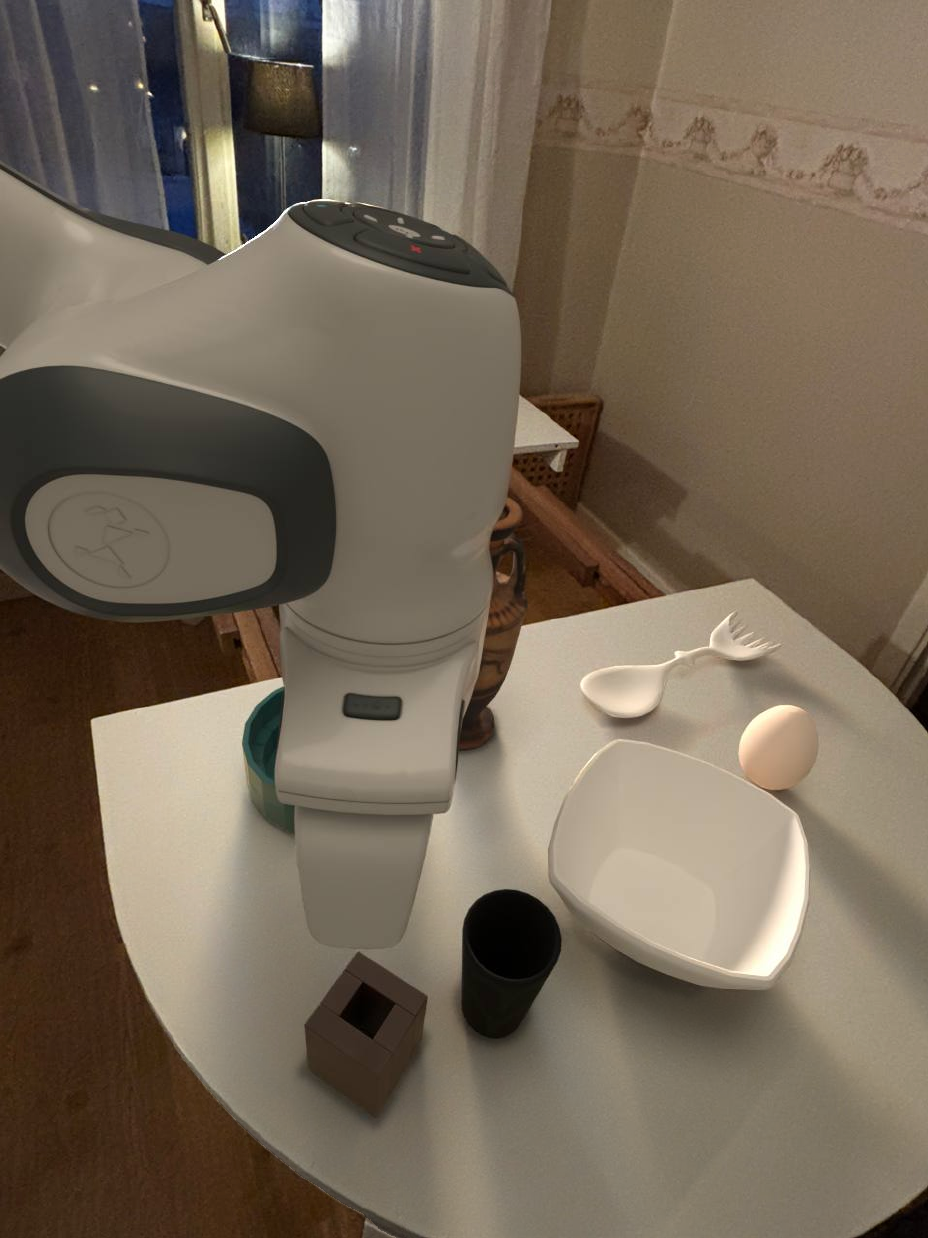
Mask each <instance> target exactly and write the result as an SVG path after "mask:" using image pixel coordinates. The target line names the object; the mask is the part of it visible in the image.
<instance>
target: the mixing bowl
mask: <svg viewBox="0 0 928 1238" xmlns="http://www.w3.org/2000/svg"><path fill="white" fill-rule="evenodd" d="M283 688H284V685H283V686H280V687H279V688H276V689H274V690H273V691H271V692H270V693H269V694H268V695H267V696H266V697H264V698H263V699H262V700H261V701H260V702H258V703H257V704H256V705H255V706H254V708H253V709H252V711H251V713H250V714H249V716H248V718H247V719H246V721H245V723H244V727H243V734H242V739H241V740H242V741H241V747H242V755H243V756H242V757H243V762H244V771H245V778H246V779H245V780H246V784H247V788H248V791H249V795H250V800H251V802H252V803H253V804H254V806H255V807H256V808H257V810H258V811H259V812H260V813H261V814H262V816H263V817H264V818H265V819H266V820H267V821H269V822H271V823H272V824H274V825H276V826H278V827H279V828H281V829H283V830H284V831H285V832H288V833H292V834H295V806H294V805H289V804H284V803H281V802H280V801H279V800H278V798H277V794H276V787H275V763H276V746H277V738H278V731H279V723H280V716H281V707H282V695H283Z"/></svg>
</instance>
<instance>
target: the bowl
mask: <svg viewBox="0 0 928 1238" xmlns="http://www.w3.org/2000/svg"><path fill="white" fill-rule="evenodd" d="M558 810H559V811H558V812H557V815H556V818H555V821H554V823H553V827H552V832H551V836H550V840H549V845H548V848H547V868H548V869H547V871H548V873H547V874H548V881H549V883H550V885H551V886H552V888H553V889H554V891H555V892H556V894H557V896H558V897H559V898H560V900H561V902H562V903H563V905H564V907H565V908H566V909H567V911H568V913H570V915H572V916H573V917H574V918H575V920H577V922H578V923H580V924H581V926H583V928H585V929H586V930H588V931H589V932H591V933H592V934H593V935H595V936H596V937H598V938H599V939H601V940H602V941H603V942H605V943H606V944H607V945H609V946H610V947H612V948H613V949H615V950H616V951H618V952H620V953H622V954H623V955H625V956H627V957H628V958H630V959H631V960H634V961H635V962H637V963H639V964H641V965H644V966H646V967H648V968H649V969H652V970H655V971H657V972H660V973H661V974H664V975H667V976H670V977H673V978H676V979H678V980H682V981H685V982H688V983H691V984H694V985H698V986H700V987H707V988H716V989H723V990H724V989H728V990H751V991H768V990H769V989H771V988H772V987H773V986H774V985H776V983H777V981H779V979H780V978H781V977H782V976H783V974H784V973H785V972H786V971H787V970H788V969H789V968H790V965H791V963H792V960H793V958H794V956H795V953H796V951H797V948H798V946H799V944H800V941H801V939H802V934H803V931H804V926H805V923H806V918H807V914H808V910H809V906H810V893H811V891H810V890H811V862H810V852H809V851H810V850H809V844H808V840H807V837H806V833H805V831H804V827H803V825H802V822H801V819H800V817H799V814H798V813H797V812H795V811H794V810H793V809H792V808H790V807H789V806H788V805H786V804H785V803H784V802H782V801H781V800H779V798H777V797H775V796H774V795H773V794H771V793H769V792H768V791H766V790H764V789H763V788H761V787H759V786H758V785H756V784H754V783H751V782H749V781H747V780H745V779H744V778H742V777H740V776H738V775H736V774H734V773H732V772H730V771H728V770H725V769H723V768H721V767H719V766H717V765H715V764H712V763H711V762H708V761H706V760H702V759H700V758H697V757H695V756H692V755H689V754H686V753H684V752H681V751H678V750H674V749H671V748H668V747H664V746H661V745H657V744H653V743H650V742H646V741H639V740H631V739H625V738H616V739H614V740H612V741H611V742H609V743H608V744H606V745H605V746H603V747H602V748H600V749H599V750H598V751H597V752H595V753H594V754H593V756H591V758H590V759H589V760H588V762H587V763H586V764H585V765H584V766H583V767H582V768H581V770H580V771H579V773H578V775H577V776H576V778H575V779H574V781H573V782H572V784H571V786H570V787H569V788H568V791H567V792H566V794H565V795H564V796H563V800H562V803H561V805H560V807H559V809H558Z"/></svg>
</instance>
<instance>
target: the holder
mask: <svg viewBox="0 0 928 1238" xmlns="http://www.w3.org/2000/svg"><path fill="white" fill-rule="evenodd" d="M428 1000H429V996H428V995H427V994H426V993H424V992H422V990H420V989H418V988H416V987H415V986H413V985H412V984H410V983H409V982H407V981H405V979H402V978H401V977H399V976H398V975H397V974H394V973H393V972H392V971H390V970H389V969H387V968H385V967H384V966H382V965H381V964H380V963H378V962H376V961H375V960H373V959H372V958H370V957H368V956H367V955H365V954H364V953H362V952H360V950H358V951H356V953H355V954H354V955H353V956H352V958H351V960H350V961H349V963H348V964H347V965H346V967H345V968H344V970H342V972H341V973H340V975H339V976H338V977H337V979H336V980H335V982H334V983H333V984H332V986H331V987H330V988H329V989H328V991H327V992H326V994H325V995H324V997H323V998H322V1000H321V1001H320V1002H319V1003H318V1005H317V1006H316V1008H315V1009H314V1011H313V1012H312V1013H311V1015H310V1016H309V1017H308V1018H307V1020H306V1021H305V1023H304V1040H305V1051H306V1064H307V1066H306V1067H307V1070H308V1071H310V1072H312V1073H313V1074H315V1076H317V1077H318V1078H320V1079H321V1080H323V1081H324V1082H325V1083H327V1084H328V1085H329V1086H330V1087H332V1088H334V1089H335V1090H336V1091H337V1092H339V1093H340V1094H342V1095H343V1096H344V1097H345V1098H347V1099H349V1100H350V1101H351V1102H352V1103H354V1104H355V1105H357V1106H358V1107H359V1108H360V1109H362V1110H363V1111H365V1112H366V1113H368V1115H370V1116H372V1117H373V1118H374V1119H377V1117H378V1115H379V1114H380V1112H381V1110H382V1109H383V1107H384V1105H386V1102H387V1101H388V1099H389V1097H390V1095H391V1094H392V1092H393V1090H394V1088H395V1087H396V1085H397V1083H398V1082H399V1080H400V1078H401V1076H402V1074H404V1071H405V1070H406V1068H407V1066H408V1065H409V1063H410V1061H411V1059H412V1058H413V1057H414V1055H415V1052H416V1051H417V1049H418V1048H419V1046H420V1044H421V1043H422V1039H423V1033H424V1026H425V1020H426V1014H427V1013H426V1012H427V1008H428V1007H427V1005H428ZM362 1028H363V1029H364V1030H365V1031H367V1032H369V1033H370V1034H371V1035H373V1036H374V1037H373V1039H372V1038H371V1037H369V1036H368V1035H366V1034H364V1033H363V1032H362V1031H360V1030H361V1029H362Z"/></svg>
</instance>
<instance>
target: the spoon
mask: <svg viewBox="0 0 928 1238" xmlns="http://www.w3.org/2000/svg"><path fill="white" fill-rule="evenodd" d="M738 614H739V611H738V610H736V611H733V612H732V613H730V614H729V615H728V616H726V617H725V618H724V619H723V620H722V621H721V622H720V624H718V625H717V626H716V627H715V628H714V629H713V631H711V634H710V640H709V646H702V647H698V648H695V649H693V650H689V651H682V650H676V651H675V652H674V657H675V658H673V659H671V660H669V661H666V662H664V663H661V664H653V665H614V666H609V667H605V668H604V667H603V668H600V669H597V670H594V671H591V672H589V673H587V674H586V675H585V676H584V677H583V678H582V679H581V682H580V684H579V685H580V686H579V687H580V692H581V695H582V696H583V698H584V699H585V701H586V702H587V703H588V704H589V706H591V707H592V708H593V709H595V710H596V711H598V712H600V713H602V714H604V715H607V716H610V717H614V718H621V719H629V718H630V719H632V718H638V717H641V716H644V715H646V714H648V713H650V712H651V711H653V710H654V709H655V708H656V707H658V705H659V704H660V703H661V700H662V698H663V696H664V692H665V688H666V683H667V679H668V676H669V674H670V673H671V671H672V670H673V669H674V668H676V667H678V666H679V667H680V666H685V667H688V668H690V667H694V665H695V664H696V663H695V661H696V660H697V659H699V658H701V657H704V656H707V657H708V656H711V657H716V658H720V659H724V660H728V661H738V662H744V661H751V660H754V659H758V658H761V657H763V656H767V655H770V654H773V653H775V652H777V651H778V650H780V648H782V646H783V644H782V643H778V644H776V645H773V646H771V644H773V640H770V641H768V642H765V643H764V644H763V642H764V641H765V639H766V637H761V638H759V639H757V640H755V641H753V642H751V643H749V642H750V641H751V640H752V639H753V638H754V637H755V636H756V634H757V632H756V631H752V632H749V633H746V634H744V635H743V636H739V635H740V634H742V633H743V632H744V631H745V630H746V629H747V628H748V626H749V624H744V625H743V626H741V627H739V628H737V627H738V626H739V625H740V624H741V623H742V622H743V620H744V619H743V618H739V619H737V620H735V621H734V622H732V621H733V620H734V619H735V618H736V617H737V616H738ZM735 628H736V629H735ZM737 637H738V638H737ZM748 643H749V644H748ZM761 643H762V644H761ZM760 644H761V645H760Z"/></svg>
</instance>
